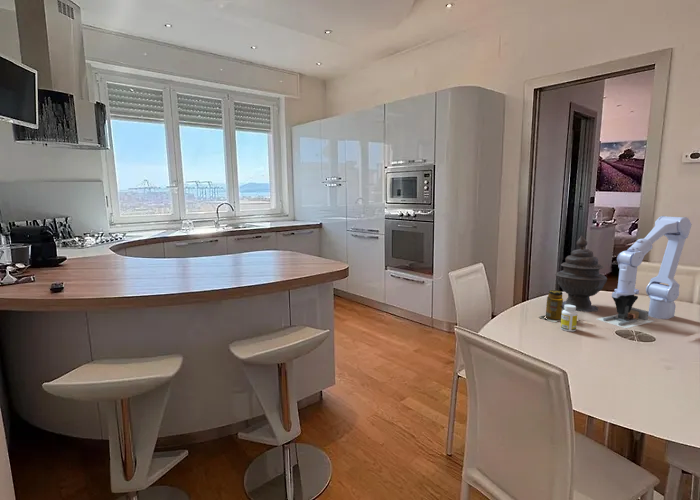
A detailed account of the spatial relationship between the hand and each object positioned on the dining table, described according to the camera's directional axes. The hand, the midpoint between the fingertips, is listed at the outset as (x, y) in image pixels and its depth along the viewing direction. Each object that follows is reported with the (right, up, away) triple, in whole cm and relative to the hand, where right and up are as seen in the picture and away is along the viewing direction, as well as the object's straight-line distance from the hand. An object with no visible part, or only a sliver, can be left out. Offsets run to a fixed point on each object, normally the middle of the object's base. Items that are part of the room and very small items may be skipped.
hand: (623, 312), depth 156 cm
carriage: (+1, -3, +1) cm, 4 cm away
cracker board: (+2, -5, +2) cm, 5 cm away
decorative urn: (-7, -2, +21) cm, 22 cm away
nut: (+6, -3, +3) cm, 7 cm away
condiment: (-25, -4, +8) cm, 27 cm away
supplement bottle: (-26, -6, -5) cm, 27 cm away
